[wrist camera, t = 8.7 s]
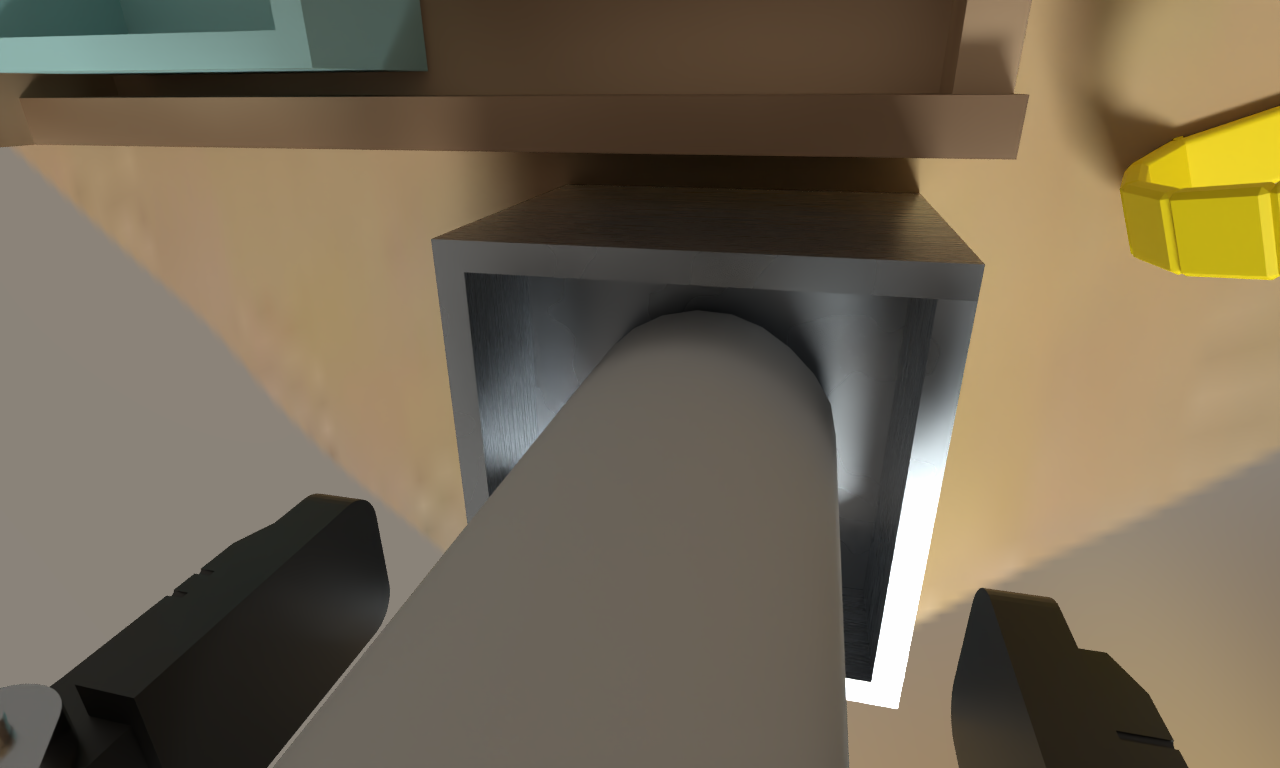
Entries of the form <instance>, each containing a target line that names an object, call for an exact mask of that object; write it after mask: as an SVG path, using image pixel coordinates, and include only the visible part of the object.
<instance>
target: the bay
mask: <svg viewBox="0 0 1280 768" xmlns="http://www.w3.org/2000/svg"><path fill="white" fill-rule="evenodd" d="M1031 2H1032V0H420V8H421V16H422V25H423V33H424V42H425V50H426V59H427V67H428V71H407V72H326V73H244V74H162V75H120V74H41V73H0V147H9V146H22V145H99V146H164V147H230V148H296V149H362V150H427V151H493V152H559V153H625V154H690V155H756V156H822V157H888V158H954V159H1016V158H1017V153H1018V148H1019V143H1020V138H1021V133H1022V128H1023V123H1024V118H1025V113H1026V108H1027V103H1028V98H1029V95H1026V94H1014V89H1015V84H1016V79H1017V74H1018V69H1019V64H1020V59H1021V53H1022V48H1023V43H1024V38H1025V33H1026V28H1027V22H1028V17H1029V12H1030V7H1031Z"/></svg>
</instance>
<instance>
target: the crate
mask: <svg viewBox="0 0 1280 768" xmlns="http://www.w3.org/2000/svg"><path fill="white" fill-rule="evenodd" d="M407 71H428V67H427V59H426V50H425V42H424V33H423V25H422V16H421V8H420V0H0V73H41V74H120V75H162V74H244V73H326V72H407Z"/></svg>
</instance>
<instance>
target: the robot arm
mask: <svg viewBox="0 0 1280 768" xmlns="http://www.w3.org/2000/svg"><path fill="white" fill-rule="evenodd" d="M389 597H390V587H389V581H388V575H387V570H386V565H385V559H384V554H383V549H382V544H381V539H380V533H379V528H378V523H377V518H376V514H375V510H374V508H373V506H372V505H371V504H370V503H369V502H368V501H366V500H361V499H354V498H347V497H339V496H332V495H325V494H313V495H310V496H308V497H307V498H305V499H304V500H302V501H301V502H300V503H299V504H298V505H296V506H295V507H294V508H293V509H291V510H290V511H289V512H288V513H286V514H285V515H284V516H283V517H281V518H280V519H279V520H278V521H276V522H275V523H273V524H271V525H269V526H267V527H265V528H264V529H261V530H259V531H257V532H255V533H253V534H251V535H249V536H247V537H245V538H243V539H241V540H239V541H237V542H235V543H233V544H232V545H230V546H229V547H228V548H227V549H225V550H224V551H223V552H222V553H220V554H219V555H218V556H216V557H215V558H214V559H213V560H212V561H210V562H209V563H208V564H206V565H205V566H204V567H203V568H201V572H200V574H194V575H192V576H191V577H190V578H188V579H187V580H186V581H185V582H183V583H182V584H181V585H180V586H178V587H177V588H176V589H175V590H174V593H173V595H172V596H166V597H164V598H163V599H162V600H161V601H159V602H158V603H157V604H155V605H154V606H153V607H152V608H150V609H149V610H148V611H146V612H145V613H144V614H143V615H141V616H140V617H139V618H138V619H136V620H135V621H134V622H133V623H131V624H130V625H129V626H127V627H126V628H125V629H124V630H122V631H121V632H120V633H118V634H117V635H116V636H115V637H113V638H112V639H111V640H110V641H108V642H107V643H106V644H104V645H103V646H102V647H101V648H99V649H98V650H97V651H96V652H94V653H93V654H92V655H90V656H89V657H88V658H87V659H85V660H84V661H83V662H81V663H80V664H79V665H78V666H76V667H75V668H74V669H73V670H71V671H70V672H69V673H68V674H66V675H65V676H64V677H62V678H61V679H60V680H58V681H57V682H56V683H54V684H53V685H52V686H50V687H48V686H45V685H40V684H19V685H12V686H7V687H3V688H0V768H267V767H268V766H269V764H270V763H271V762H272V761H273V760H274V758H275V757H276V756H277V755H278V753H279V752H280V751H281V750H282V748H283V747H284V746H285V745H286V744H287V742H288V741H289V740H290V739H291V737H292V736H293V735H294V734H295V732H296V731H297V730H298V729H299V727H300V726H301V725H302V724H303V722H304V721H305V720H306V719H307V717H308V716H309V715H310V714H311V712H312V711H313V710H314V709H315V708H316V706H317V705H318V704H319V702H320V701H321V700H322V699H323V698H324V696H325V695H326V694H327V693H328V691H329V690H330V689H331V688H332V686H333V685H334V684H335V683H336V681H337V680H338V679H339V678H340V676H341V675H342V674H343V673H344V672H345V670H346V669H347V668H348V667H349V665H350V664H351V663H352V662H353V660H354V659H355V658H356V657H357V656H358V654H359V653H360V652H361V650H362V649H363V648H364V647H365V646H366V644H367V643H368V642H369V641H370V639H371V638H372V637H373V636H374V634H375V633H376V632H377V630H378V629H379V627H380V626H381V624H382V622H383V620H384V617H385V614H386V612H387V608H388V603H389ZM951 719H952V720H951V721H952V733H953V740H954V746H955V750H956V755H957V760H958V765H959V768H1188V766H1187V764H1186V762H1185V761H1184V759H1183V757H1182V755H1181V753H1180V751H1179V750H1175V749H1174V746H1173V741H1174V740H1173V738H1172V736H1171V735H1170V733H1169V731H1168V729H1167V727H1166V725H1165V723H1164V722H1163V720H1162V718H1161V716H1160V714H1159V713H1158V711H1157V709H1156V707H1155V705H1154V703H1153V701H1152V699H1151V698H1150V696H1149V694H1148V693H1147V692H1146V691H1145V690H1144V689H1143V688H1142V687H1141V686H1140V685H1139V684H1138V683H1137V682H1136V681H1135V680H1134V679H1133V678H1132V677H1131V676H1130V675H1129V674H1128V673H1127V672H1126V671H1125V670H1124V669H1123V668H1121V666H1119V664H1117V662H1116V661H1114V660H1113V659H1112V658H1111V657H1110V656H1109V655H1108V654H1107V653H1104V652H1098V651H1091V650H1085V649H1078V647H1077V645H1076V642H1075V640H1074V638H1073V636H1072V634H1071V632H1070V630H1069V627H1068V625H1067V623H1066V621H1065V618H1064V617H1063V614H1062V612H1061V610H1060V608H1059V606H1058V604H1057V603H1056V601H1055V600H1054V599H1052V598H1049V597H1043V596H1036V595H1028V594H1022V593H1014V592H1007V591H1000V590H993V589H986V588H980V589H979V590H978V591H977V593H976V594H975V597H974V600H973V603H972V607H971V612H970V616H969V620H968V624H967V628H966V633H965V637H964V641H963V646H962V650H961V654H960V658H959V662H958V666H957V671H956V675H955V679H954V684H953V691H952V701H951Z"/></svg>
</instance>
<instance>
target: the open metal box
mask: <svg viewBox="0 0 1280 768" xmlns="http://www.w3.org/2000/svg"><path fill="white" fill-rule="evenodd" d="M431 242H432V250H433V257H434V265H435V273H436V281H437V289H438V297H439V304H440V312H441V320H442V328H443V336H444V343H445V351H446V359H447V367H448V375H449V383H450V390H451V398H452V406H453V414H454V422H455V429H456V437H457V445H458V453H459V461H460V469H461V476H462V484H463V492H464V500H465V508H466V516H467V523H469V522H470V521H471V520H472V518H473V517H474V516H475V515H476V513H477V512H478V511H479V510H480V508H481V507H482V506H483V505H484V503H485V502H486V501H487V500H488V498H489V497H490V496H491V495H492V493H493V492H494V491H495V490H496V488H497V487H498V486H499V485H500V484H501V482H502V481H503V480H504V479H505V477H506V476H507V475H508V474H509V472H510V471H511V470H512V469H513V467H514V466H515V465H516V464H517V462H518V461H519V460H520V459H521V457H522V456H523V455H524V454H525V452H526V451H527V450H528V449H529V448H530V446H531V445H532V444H533V443H534V441H535V440H536V439H537V438H538V436H539V435H540V434H541V433H542V432H543V430H544V429H545V428H546V427H547V425H548V424H549V423H550V422H551V420H552V419H553V418H554V417H555V416H556V414H557V413H558V412H559V411H560V409H561V408H562V407H563V406H564V405H565V403H566V402H567V401H568V400H569V398H570V397H571V396H572V395H573V394H574V392H575V391H576V390H577V389H578V388H579V386H580V385H581V384H582V383H583V381H584V380H585V379H586V378H587V377H588V375H589V374H590V373H591V372H592V371H593V369H594V368H595V367H596V366H597V365H598V363H599V362H600V361H601V360H602V359H603V357H604V356H605V355H606V354H607V353H608V351H609V350H610V349H611V348H612V347H613V346H614V345H615V344H616V343H617V342H619V341H620V340H621V339H622V338H623V337H624V336H626V335H627V334H628V333H629V332H630V331H631V330H632V329H634V328H635V327H638V326H640V325H642V324H644V323H647V322H649V321H651V320H653V319H655V318H658V317H660V316H662V315H668V314H675V313H682V312H688V311H695V310H699V311H708V312H717V313H726V314H732V315H735V316H737V317H739V318H742V319H744V320H746V321H749V322H751V323H753V324H756V325H758V326H761V327H763V328H764V329H765V330H767V331H768V332H769V333H771V334H772V335H773V336H775V337H776V338H777V339H779V340H780V341H781V342H783V343H784V344H785V345H787V346H788V347H789V348H791V350H792V351H793V352H794V353H795V354H796V355H797V356H798V357H799V358H800V359H801V360H802V361H803V363H804V364H805V365H806V366H807V367H808V368H809V369H810V370H811V371H812V372H813V373H814V375H815V376H816V378H817V380H818V382H819V384H820V385H821V387H822V389H823V391H824V393H825V394H826V396H827V398H828V400H829V402H830V404H831V408H832V414H833V421H834V427H835V433H836V451H837V476H838V501H839V526H840V551H841V576H842V601H843V626H844V651H845V677H846V700H851V701H857V702H862V703H868V704H874V705H879V706H885V707H890V708H896V709H897V708H898V704H899V699H900V693H901V688H902V683H903V678H904V673H905V668H906V663H907V658H908V653H909V648H910V642H911V637H912V633H913V627H914V622H915V617H916V612H917V607H918V602H919V597H920V592H921V587H922V582H923V577H924V572H925V566H926V561H927V556H928V551H929V546H930V541H931V536H932V531H933V526H934V521H935V516H936V511H937V505H938V500H939V495H940V490H941V485H942V480H943V475H944V470H945V465H946V460H947V455H948V450H949V444H950V439H951V434H952V429H953V424H954V419H955V414H956V409H957V404H958V399H959V394H960V389H961V384H962V378H963V373H964V368H965V363H966V358H967V353H968V348H969V343H970V338H971V333H972V328H973V323H974V317H975V312H976V307H977V302H978V297H979V292H980V287H981V282H982V277H983V272H984V267H985V264H984V263H983V262H982V261H981V260H980V259H979V257H978V256H977V255H976V254H975V253H974V252H973V251H972V250H971V249H970V248H969V247H968V245H967V244H966V243H965V242H964V241H963V240H962V239H961V238H960V237H959V236H958V235H957V233H956V232H955V231H954V230H953V229H952V228H951V227H950V226H949V225H948V224H947V222H946V221H945V220H944V219H943V218H942V217H941V216H940V215H939V214H938V213H937V212H936V210H935V209H934V208H933V207H932V206H931V205H930V204H929V203H928V202H927V201H926V200H925V198H924V197H923V196H922V195H921V194H918V193H879V192H840V191H801V190H762V189H724V188H685V187H646V186H607V185H568V184H567V185H565V186H562V187H560V188H557V189H555V190H552V191H550V192H547V193H545V194H542V195H540V196H537V197H535V198H532V199H530V200H527V201H525V202H522V203H520V204H517V205H515V206H512V207H510V208H507V209H505V210H502V211H500V212H497V213H495V214H492V215H490V216H487V217H485V218H482V219H480V220H477V221H475V222H473V223H470V224H468V225H465V226H463V227H460V228H458V229H455V230H453V231H450V232H448V233H445V234H443V235H440V236H438V237H435V238H433V239H431Z"/></svg>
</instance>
